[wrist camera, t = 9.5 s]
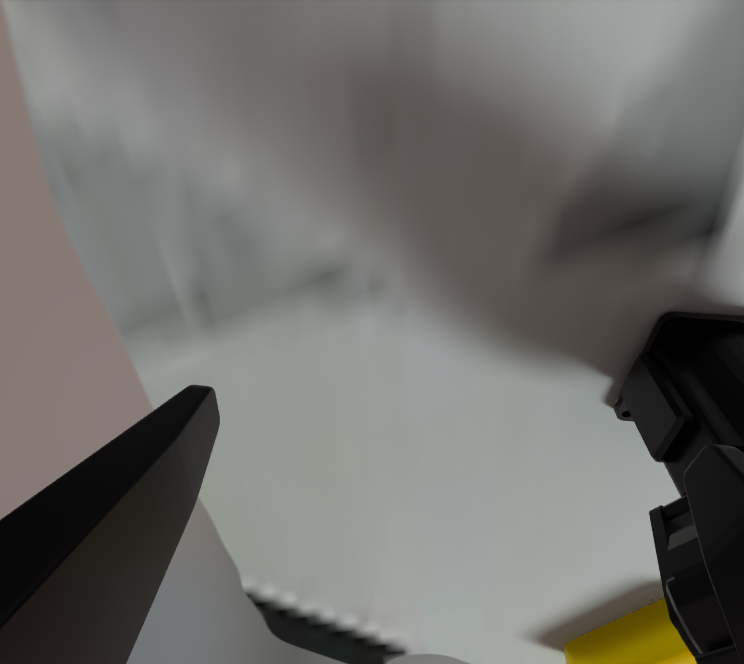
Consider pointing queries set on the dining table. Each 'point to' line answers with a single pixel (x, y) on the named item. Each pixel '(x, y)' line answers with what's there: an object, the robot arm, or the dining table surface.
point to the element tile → (632, 641)
